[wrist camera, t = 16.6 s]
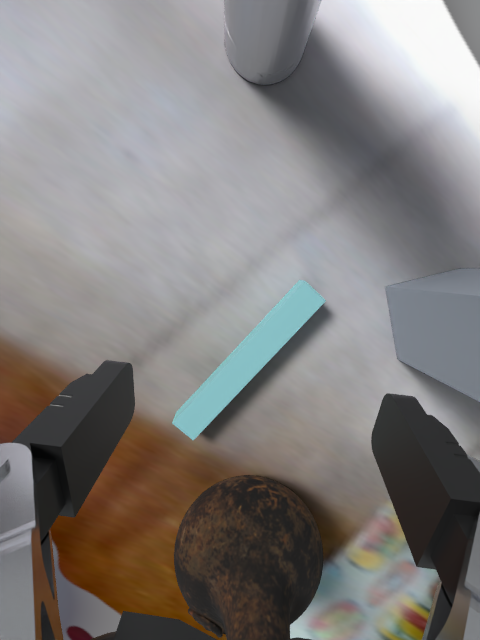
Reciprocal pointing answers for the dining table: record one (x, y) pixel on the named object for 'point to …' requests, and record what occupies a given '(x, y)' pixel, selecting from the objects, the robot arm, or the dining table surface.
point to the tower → (440, 327)
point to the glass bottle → (248, 558)
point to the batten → (248, 358)
